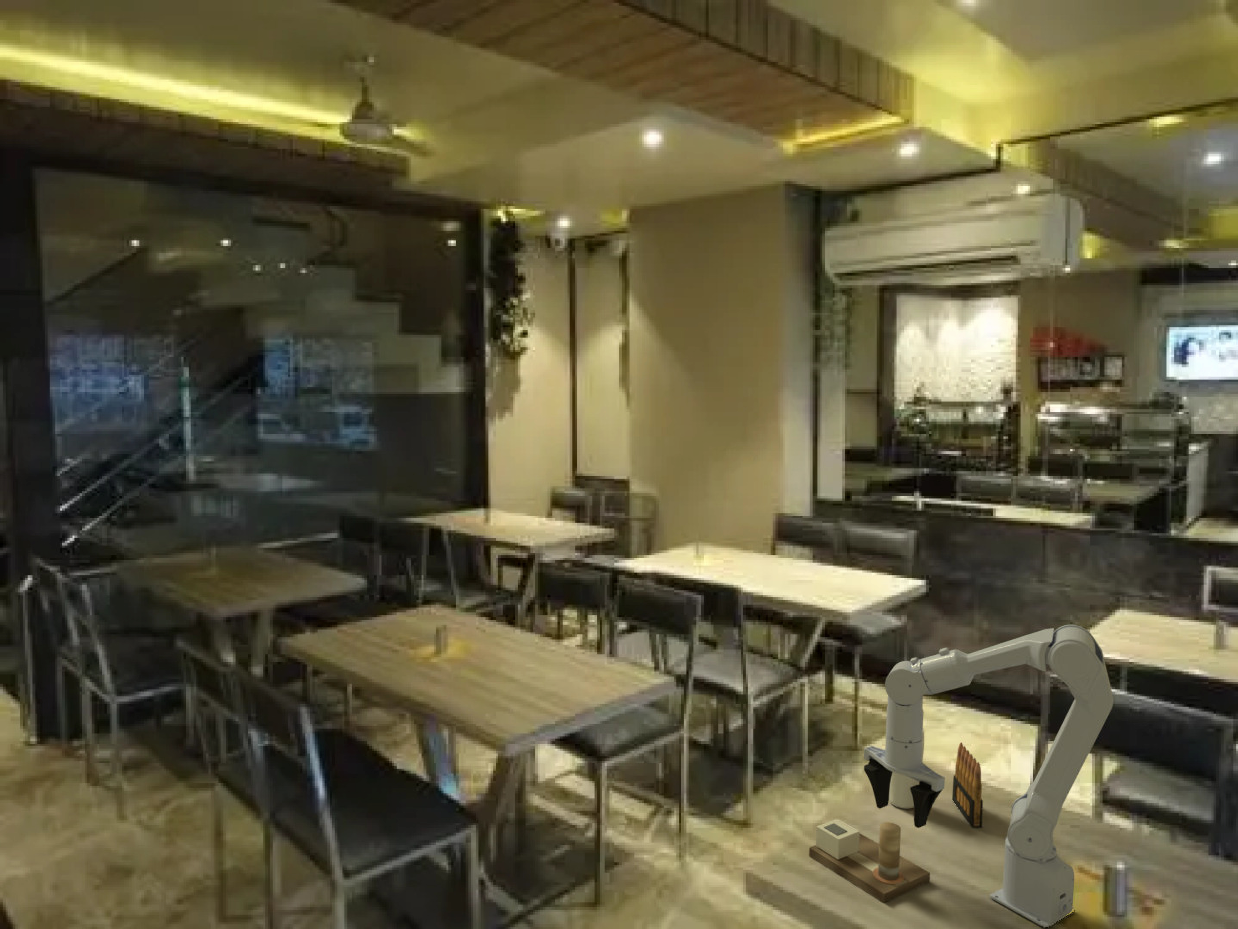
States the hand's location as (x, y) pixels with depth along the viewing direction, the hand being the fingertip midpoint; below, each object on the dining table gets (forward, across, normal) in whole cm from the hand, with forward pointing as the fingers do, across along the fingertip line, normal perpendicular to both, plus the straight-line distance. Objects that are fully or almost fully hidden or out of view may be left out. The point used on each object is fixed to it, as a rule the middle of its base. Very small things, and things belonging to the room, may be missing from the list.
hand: (900, 816), depth 145 cm
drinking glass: (+10, +15, -20) cm, 26 cm away
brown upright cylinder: (+8, -2, +5) cm, 9 cm away
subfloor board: (+9, +3, +4) cm, 11 cm away
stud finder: (+8, +8, +6) cm, 13 cm away
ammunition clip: (+10, +6, -27) cm, 29 cm away
